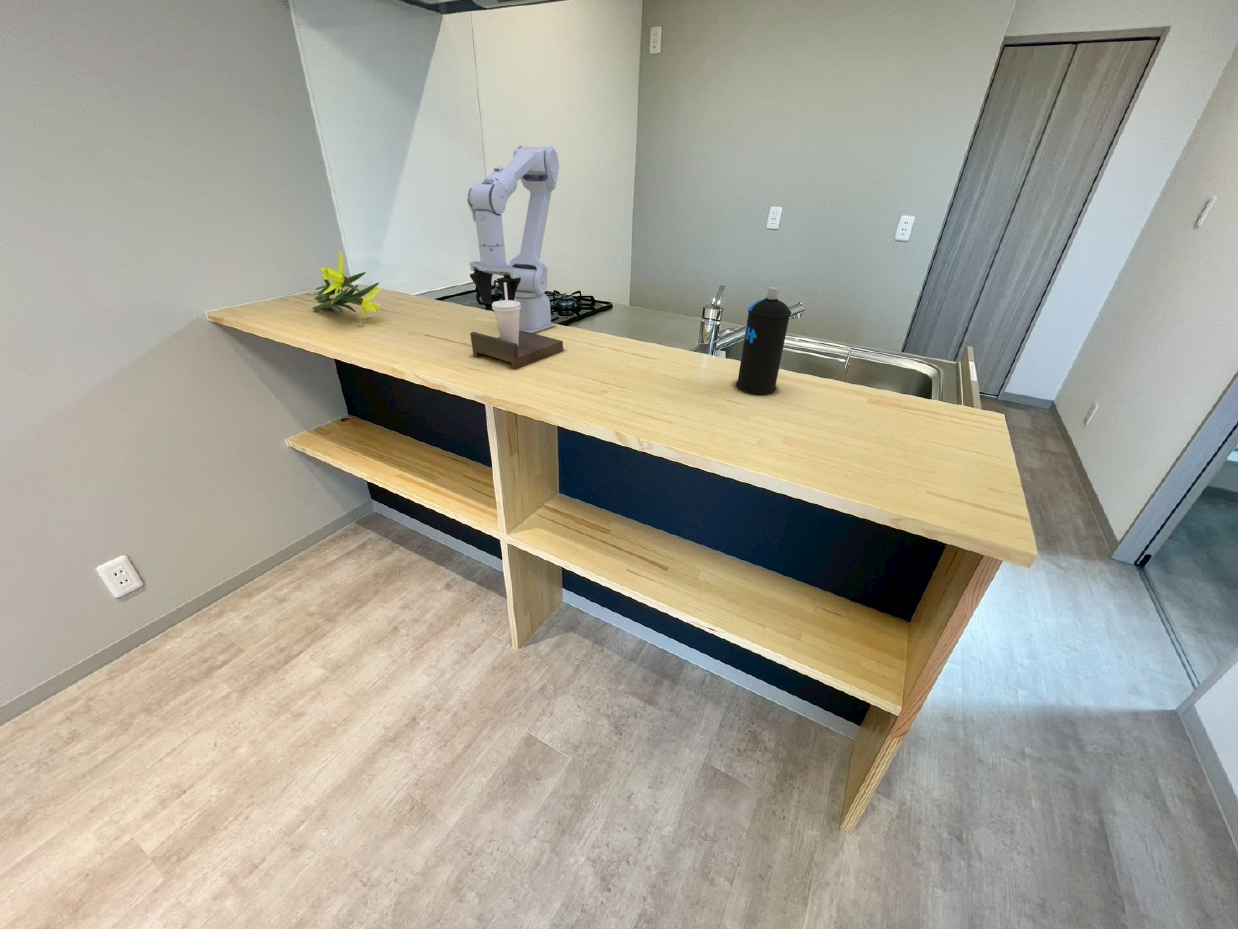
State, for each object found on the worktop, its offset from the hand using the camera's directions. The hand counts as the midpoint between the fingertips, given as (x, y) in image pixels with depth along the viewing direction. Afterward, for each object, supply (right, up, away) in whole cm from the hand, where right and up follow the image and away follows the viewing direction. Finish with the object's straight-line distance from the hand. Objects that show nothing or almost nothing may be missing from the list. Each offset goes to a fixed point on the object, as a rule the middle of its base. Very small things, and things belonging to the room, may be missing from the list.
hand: (498, 305), depth 118 cm
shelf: (+5, -12, -1) cm, 13 cm away
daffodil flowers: (-50, +3, +22) cm, 54 cm away
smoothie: (+4, -11, -4) cm, 12 cm away
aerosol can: (+58, -22, -16) cm, 64 cm away
